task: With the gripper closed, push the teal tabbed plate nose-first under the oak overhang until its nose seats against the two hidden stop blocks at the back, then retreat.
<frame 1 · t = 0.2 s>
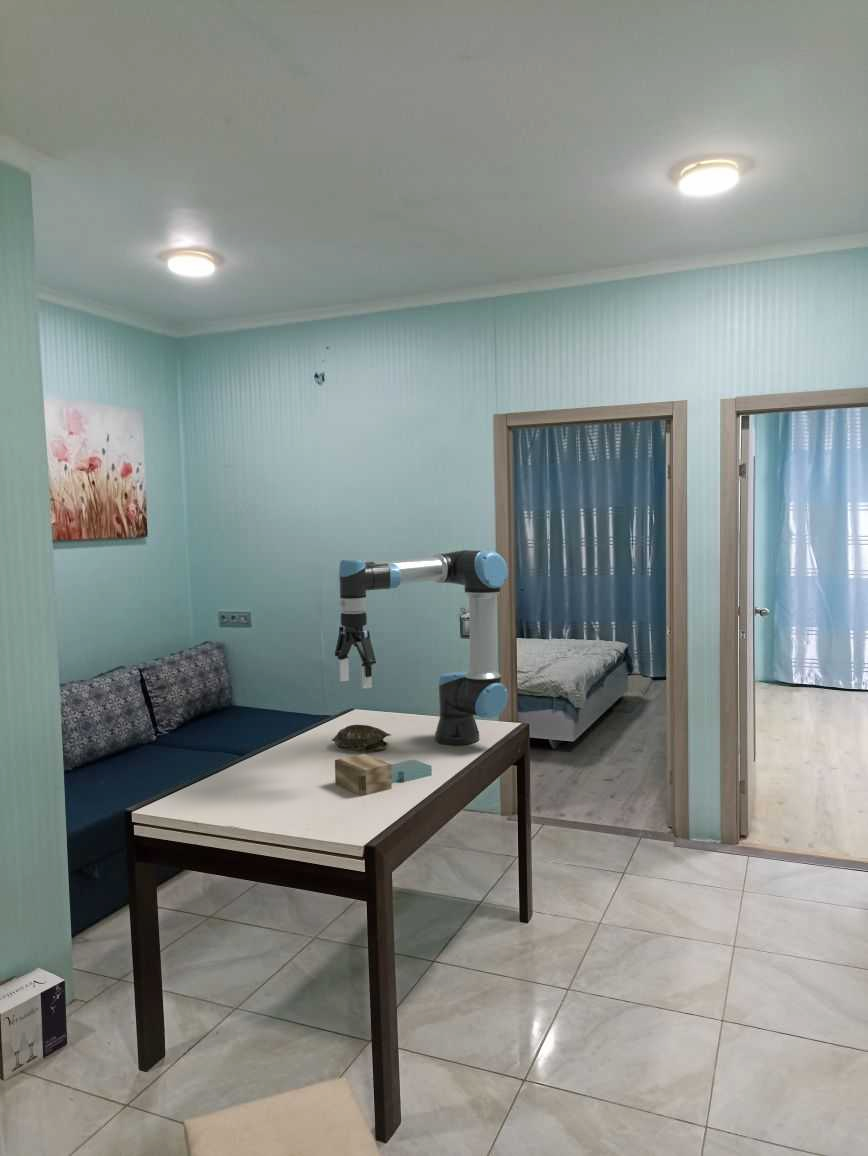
hand: (355, 684, 252), 28 cm above the table, fingers open, 13 cm apart
overhang: (363, 786, 245), on the table
turtle shell: (360, 748, 287), on the table
teal tabbed plate: (403, 776, 253), on the table
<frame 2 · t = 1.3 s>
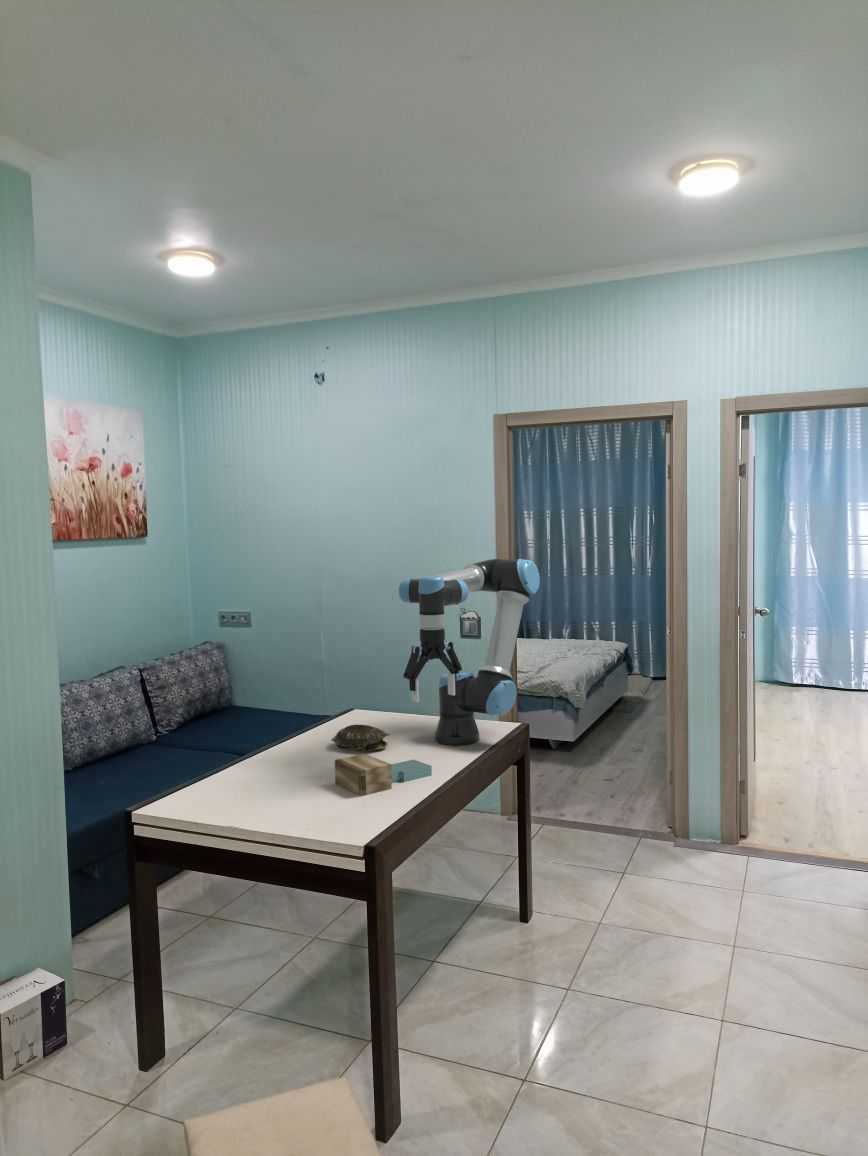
hand: (433, 698, 259), 22 cm above the table, fingers open, 13 cm apart
nothing on the table moved.
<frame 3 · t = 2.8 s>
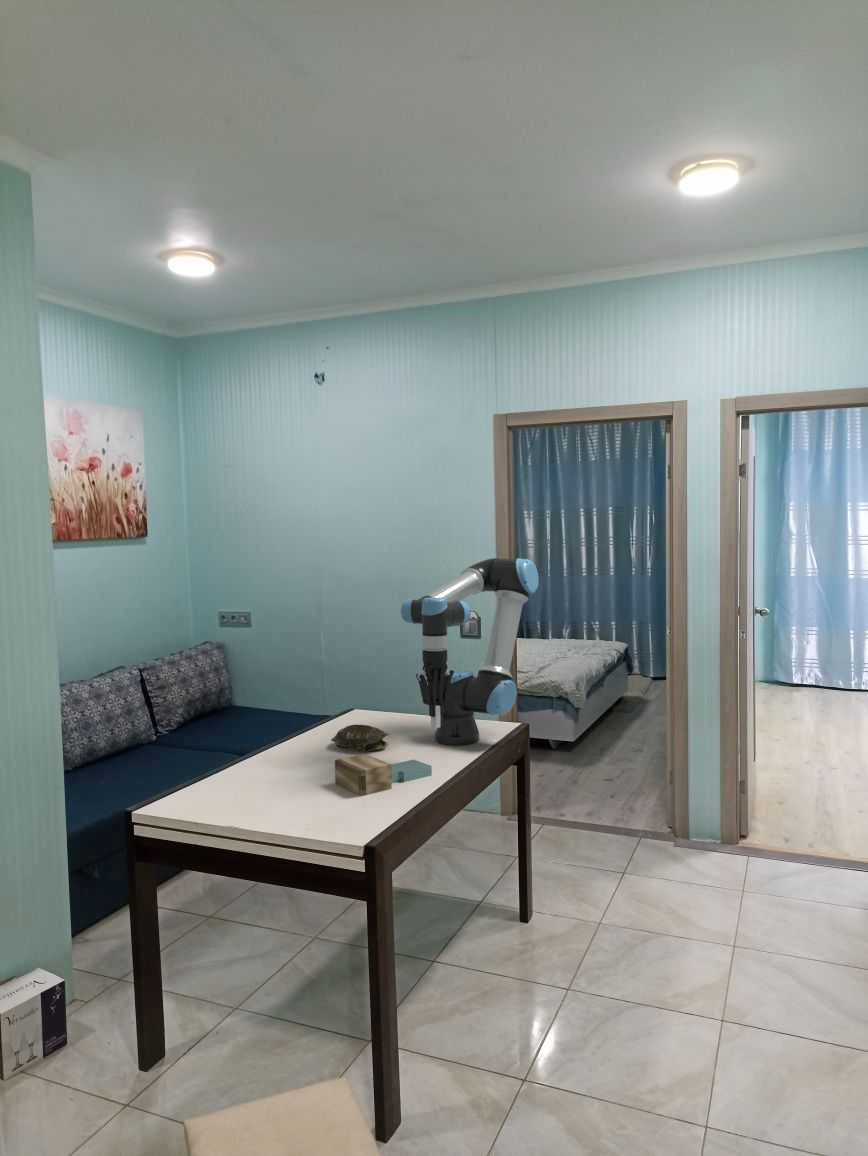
hand: (435, 726, 260), 13 cm above the table, fingers closed
nothing on the table moved.
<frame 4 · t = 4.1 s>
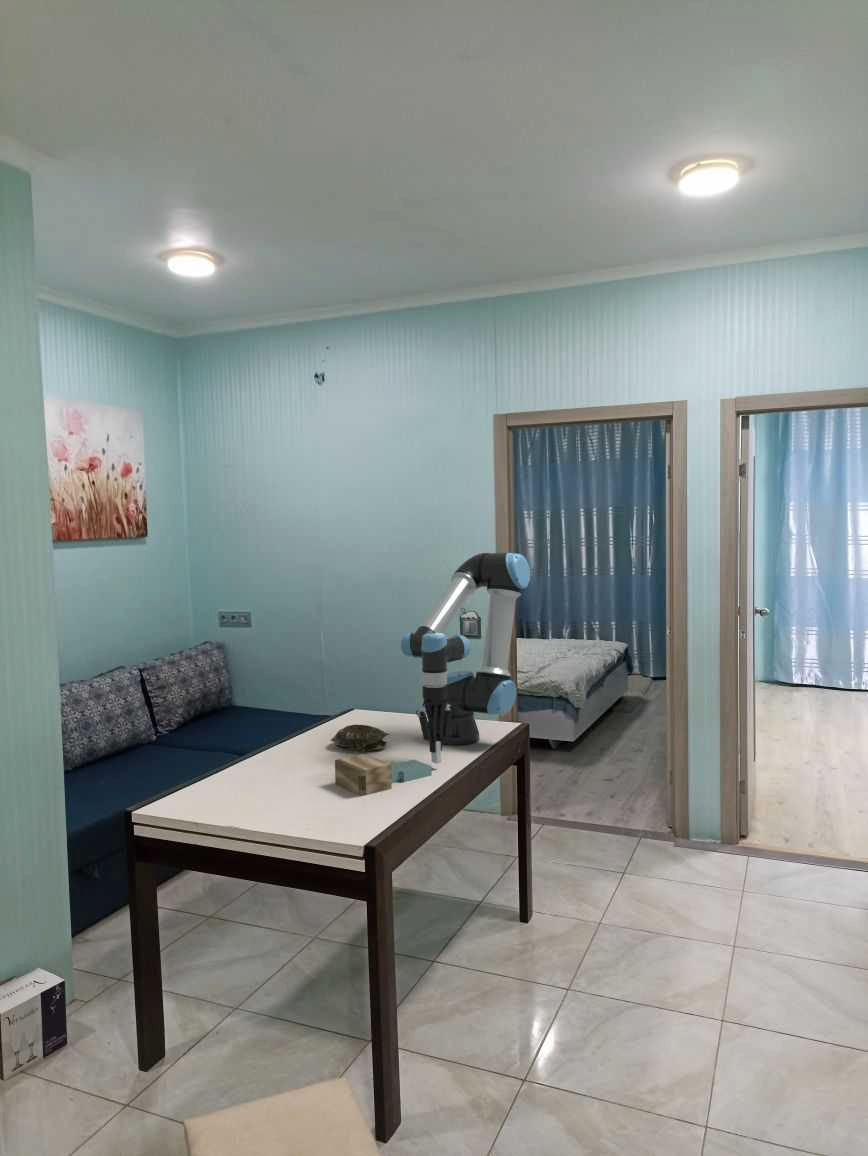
hand: (436, 762, 260), 2 cm above the table, fingers closed
nothing on the table moved.
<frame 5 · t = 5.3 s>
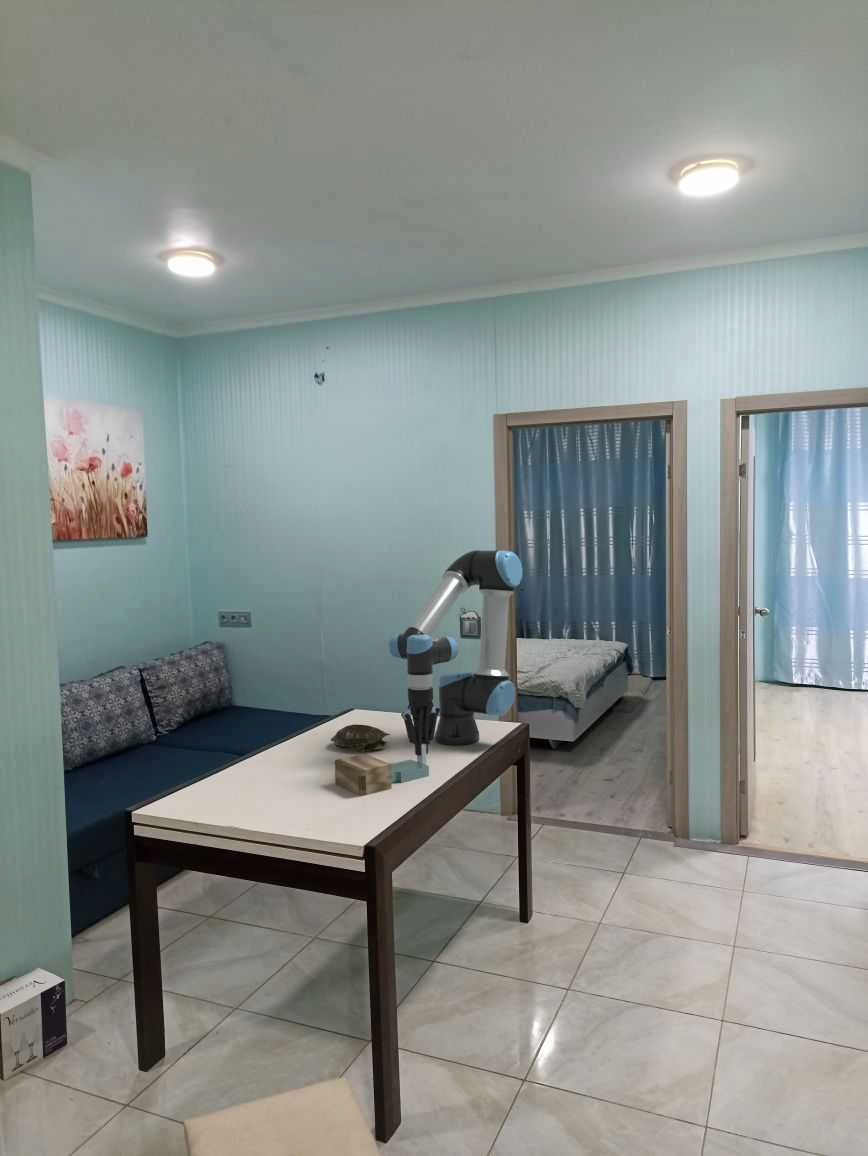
hand: (421, 765, 257), 2 cm above the table, fingers closed
teal tabbed plate: (400, 777, 253), on the table, touching gripper
everything else where it was.
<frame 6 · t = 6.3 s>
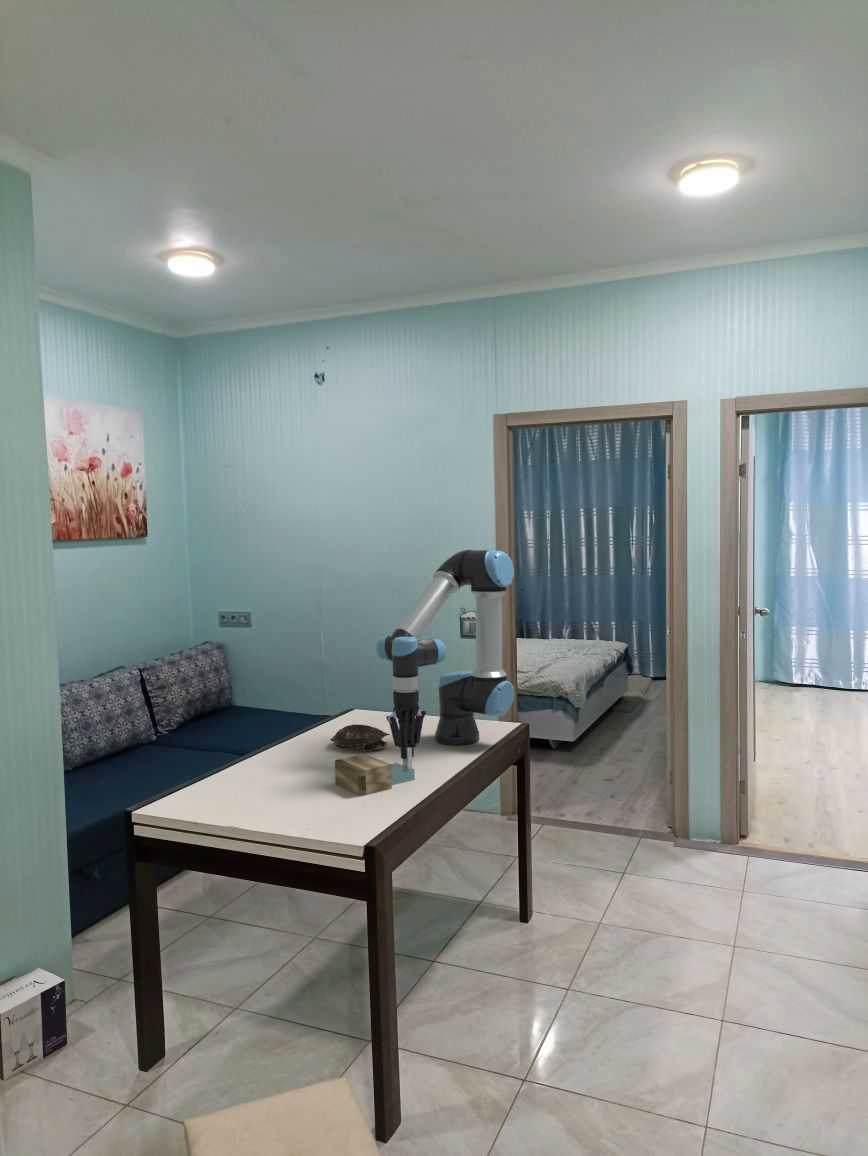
hand: (407, 768, 254), 2 cm above the table, fingers closed
teal tabbed plate: (385, 780, 250), on the table, touching gripper
everything else where it was.
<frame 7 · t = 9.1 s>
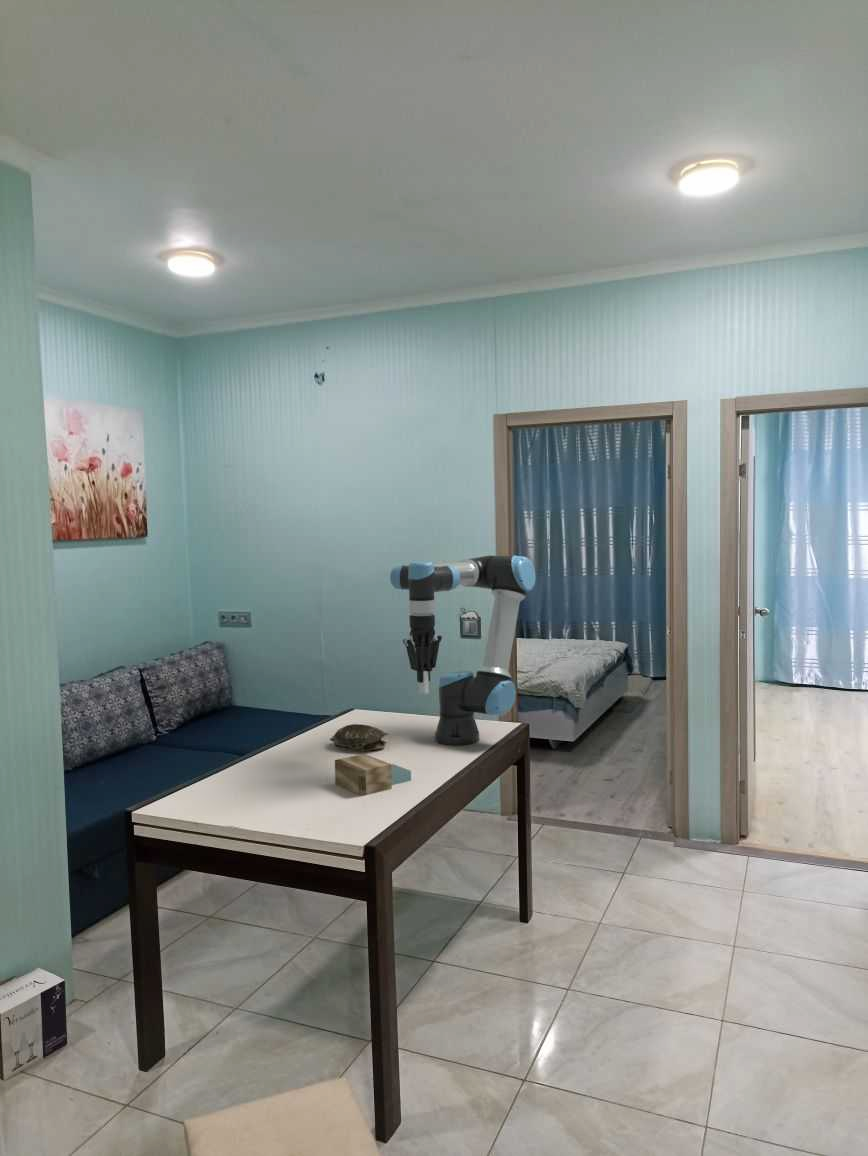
hand: (424, 692, 257), 24 cm above the table, fingers closed
teal tabbed plate: (382, 782, 249), on the table
everything else where it was.
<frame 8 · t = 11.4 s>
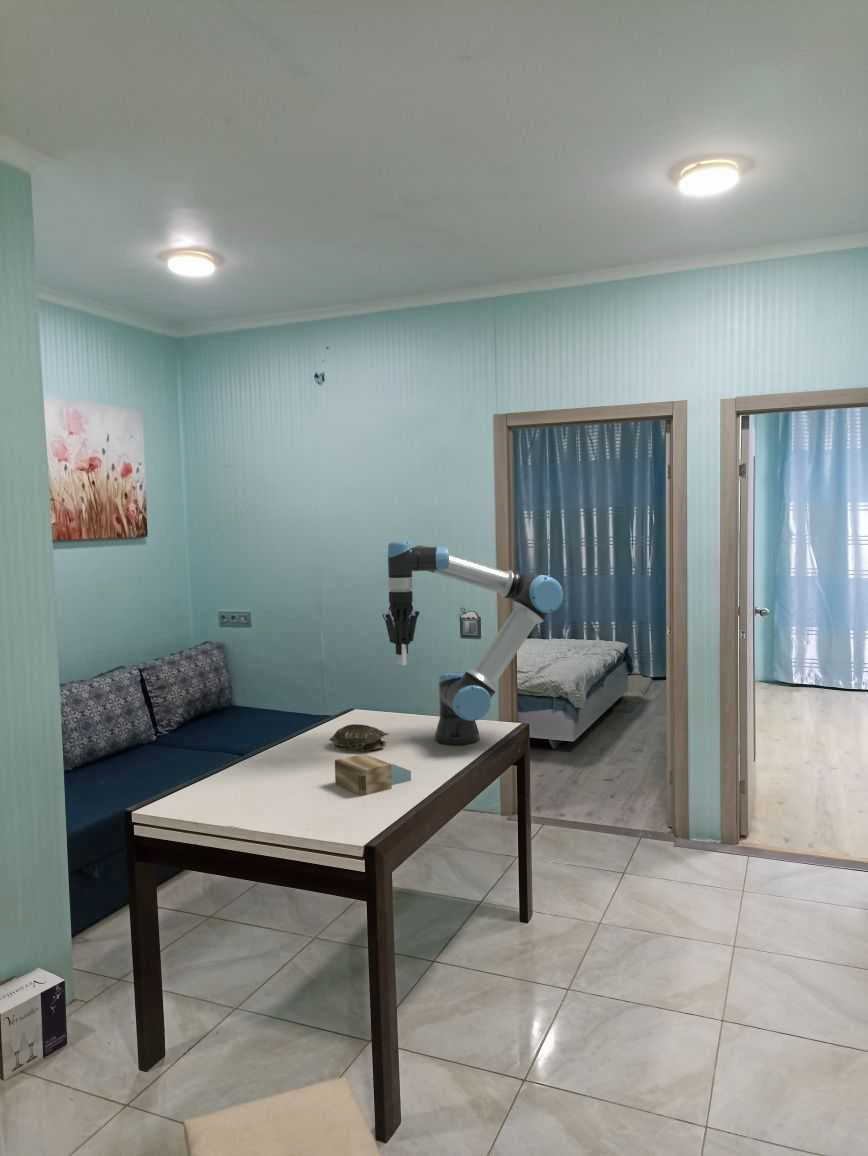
hand: (402, 664, 273), 29 cm above the table, fingers closed
at the end: teal tabbed plate 0.8 cm from the target spot on the overhang, point 0.0 cm above the overhang's base; teal tabbed plate tilted 0° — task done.
